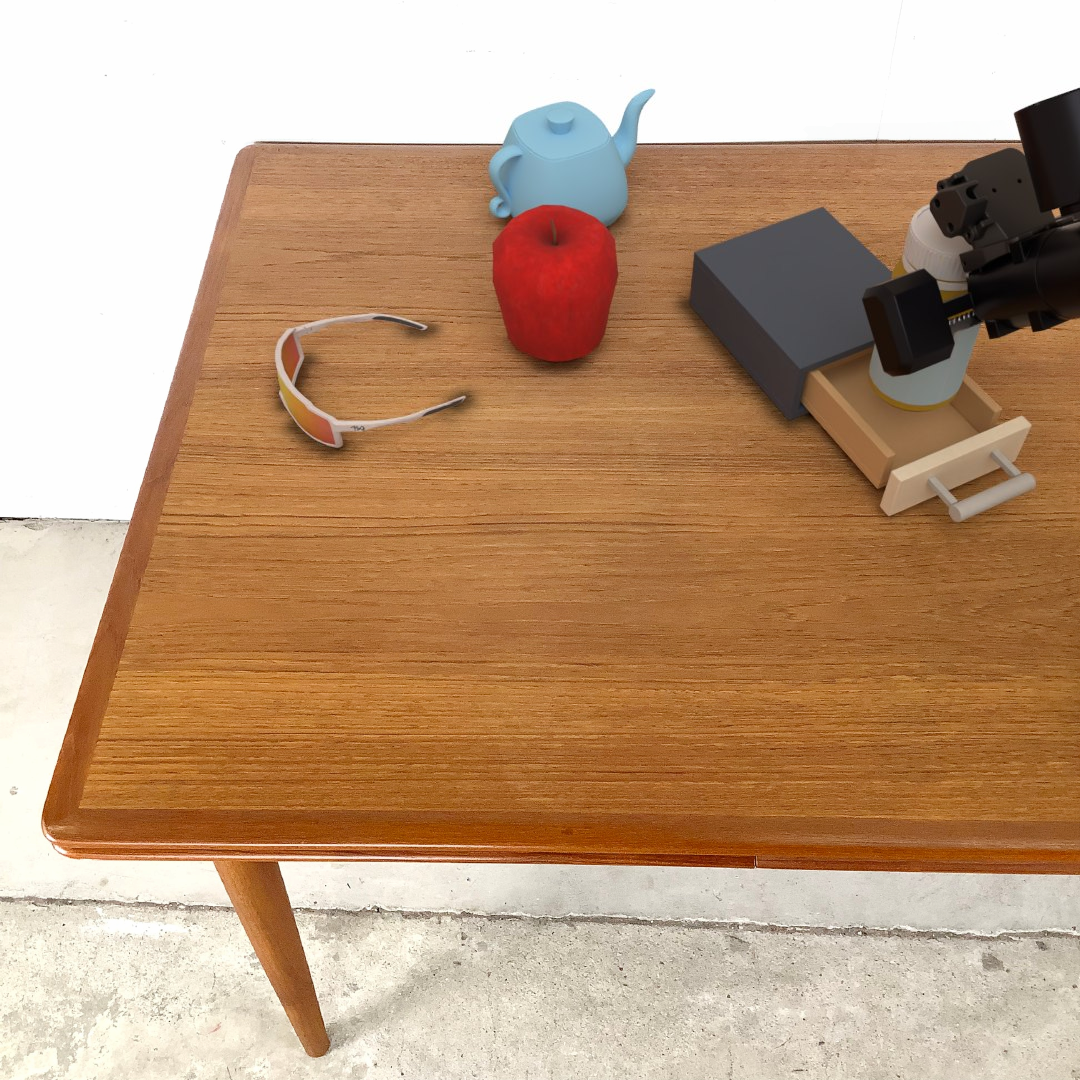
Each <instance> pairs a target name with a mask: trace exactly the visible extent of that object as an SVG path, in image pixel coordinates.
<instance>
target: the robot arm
mask: <svg viewBox="0 0 1080 1080" xmlns="http://www.w3.org/2000/svg"><path fill="white" fill-rule="evenodd" d="M1013 117H1014V120H1015V124H1016V128H1017V131H1018V136H1019V139H1020V143H1021V146H1022V150H1023V152H1022V151H1021V150H1019V149H1018V148H1015V147H1007V148H1004V149H1001V150H998V151H995V152H992V153H989V154H986V155H984V156H980V157H978V158H975V159H973V160H970V161H968V162H967V163H966V164H965V165H964V166H963V167H962V168H961V169H960V170H959V171H956V172H953V173H952V174H951V175H950V176H948V177H945V178H943V179H940V180H938V181H937V182H936V191H937V192H936V193H935V194H934V195H933V196H932V198H931V199H930V200H929V204H930V212H931V214H932V215H933V217H934V219H935V221H936V223H937V224H938V226H939V228H940V230H941V231H942V233H943V235H944V236H945V237H947V238H954V237H956V236H961V237H963V238H964V239H965V241H966V242H967V243H968V244H969V245H971V246H972V247H973V249H972V250H969V251H966V252H964V253H961V254H959V257H960V260H961V264H962V267H963V271H964V272H965V273H966V275H965V278H966V282H967V290H968V292H967V293H964V294H962V295H959V296H956V297H954V298H951V299H949V300H946V301H944V302H943V300H942V297H941V293H940V290H939V286H938V283H937V279H935V278H934V277H933V276H932V275H931V274H930V273H929V272H928V271H927V270H925V269H924V268H923V269H919V270H916V271H913V272H910V273H907V274H904V275H901V276H898V277H895V278H892V279H890V280H887V281H884V282H882V283H879V284H877V285H874V286H871V287H869V288H866V290H865V293H864V295H863V297H862V302H863V305H864V308H865V312H866V315H867V318H868V322H869V325H870V328H871V331H872V335H873V338H874V341H875V345H876V348H877V351H878V355H879V358H880V361H881V365H882V368H883V371H884V372H885V373H887V374H889V375H890V376H892V377H896V376H904V375H910V374H912V373H915V372H917V371H920V370H922V369H925V368H927V367H930V366H932V365H934V364H937V363H939V362H942V361H944V360H947V359H949V358H950V357H951V354H952V351H953V348H954V345H955V342H954V339H955V335H956V334H957V333H959V332H961V331H964V330H966V329H969V328H971V327H974V326H976V325H979V324H981V325H982V324H983V323H984V325H985V329H986V332H987V336H988V340H994V339H1000V338H1002V337H1005V336H1008V335H1010V334H1012V333H1014V332H1017V331H1019V330H1022V329H1024V328H1029V327H1030V329H1031V332H1032V333H1039V332H1044V331H1047V330H1049V329H1051V328H1054V327H1056V326H1059V325H1062V324H1063V323H1067V322H1069V321H1072V320H1077V319H1080V87H1078V88H1074V89H1071V90H1068V91H1065V92H1063V93H1060V94H1056V95H1054V96H1051V97H1048V98H1045V99H1042V100H1039V101H1037V102H1034V103H1032V104H1029V105H1027V106H1025V107H1022V108H1019V109H1018V110H1016V111H1014V112H1013ZM1057 209H1058V211H1059V213H1060V214H1059V215H1056V216H1055V214H1054V212H1053V211H1054V210H1057ZM970 309H973V311H970V312H968V313H966V315H965V314H962V315H961V316H957V317H956V318H952V319H951V320H948V318H949V317H952V316H954V315H957V314H959V313H962V312H964V311H967V310H970Z"/></svg>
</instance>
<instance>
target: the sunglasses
mask: <svg viewBox="0 0 1080 1080" xmlns="http://www.w3.org/2000/svg"><path fill="white" fill-rule="evenodd" d="M369 321H380V322H388V323H394V324H399V325H403V326H406V327H410V328H413V329H416V330H419V331H425V330H427V329H428V326H427V325H425V324H423V323H420V322H417V321H414V320H411V319H408V318H404V317H401V316H397V315H392V314H386V313H377V312H372V313H363V314H353V315H344V316H337V317H331V318H324V319H319V320H316V321H315V320H314V321H312V322H308V323H305V324H302V325H301V324H300V325H298V326H293V327H289V328H287V329H286V331H284V332H283V334H282V335H281V336H280V337H279V339H278V340H277V343H276V346H275V351H274V362H275V367H276V374H277V375H276V376H277V381H278V386H279V391H278V393H279V397H280V400H281V401H282V403H283V406H284V407H285V409H286V410H287V412H288V414H289V415H290V417H291V418H292V419H293V421H294V422H295V424H296V425H297V426H298V427H299V428H300V429H301V430H302V431H303V432H304V433H305V434H306V435H307V436H308V437H310V438H311V439H313V440H315V441H316V442H318V443H321V444H323V445H325V446H327V447H331V448H336V449H339V448H341V447H342V446H344V441H343V436H342V433H344V432H357V433H363V432H365V431H369V430H372V429H377V428H382V427H387V426H393V425H399V424H400V425H401V424H408V423H412V422H414V421H417V420H419V419H422V418H425V417H428V416H430V415H435V414H436V413H440V412H442V411H444V410H447V409H450V408H453V407H455V406H457V405H459V404H462V403H463V402H464V401H465V399H466V398H467V396H466V395H463V396H459V397H456V398H454V399H452V400H449V401H446V402H443V403H441V404H438V405H435V406H431V407H429V408H425V409H422V410H419V411H416V412H413V413H411V414H408V415H403V416H399V417H393V418H387V419H377V420H343V419H337V418H336V417H335V416H332V415H330V413H329V414H328V413H327V412H325V411H323V410H321V409H319V408H318V407H317V406H314V404H313V403H312V401H310V399H308V398H307V397H306V396H304V395H303V394H302V393H301V392H300V391H299V390H298V388H297V387H295V385H296V384H295V383H296V380H297V377H298V374H299V371H300V369H301V367H302V364H303V362H304V360H305V354H304V350H303V347H302V345H301V340H300V338H301V337H304V336H306V335H310V334H314V333H317V332H319V331H320V330H322V329H325V328H327V327H330V326H333V325H336V324H342V323H363V322H369Z"/></svg>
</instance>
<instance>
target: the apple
mask: <svg viewBox="0 0 1080 1080" xmlns="http://www.w3.org/2000/svg"><path fill="white" fill-rule="evenodd" d="M491 246H492V284H493V288H494V291H495V294H496V298H497V302H498V305H499V308H500V312H501V316H502V320H503V323H504V327H505V331H506V335H507V339H508V340H509V341H510V343H511V344H512V345H513V346H514V347H515V349H516V350H518V351H520V352H522V353H524V354H526V355H528V356H529V357H532V358H536V359H538V360H539V359H540V360H543V361H546V362H547V361H548V362H555V363H557V362H569V361H573V360H576V359H580V358H583V357H587V356H588V355H589V354H590V353H592V352H593V351H594V350H595V349H597V348H598V347H599V346H600V344H601V342H602V340H603V339H604V336H605V333H606V331H607V325H608V320H609V315H610V312H611V311H610V310H611V307H612V302H613V298H614V293H615V290H616V286H617V282H618V279H619V269H618V268H619V267H618V260H617V259H618V257H617V247H616V238H615V237H614V235H613V234H612V233H611V231H610V230H609V229H608V226H607V227H606V226H605V225H604V224H603V223H602V222H601V221H599V220H598V219H597V218H596V217H594V216H591V215H589V214H587V213H585V212H583V211H581V210H577V209H574V208H570V207H567V206H563V205H541V206H538V207H535V208H532V209H529V210H527V211H525V212H523V213H521V214H520V215H518V216H516V217H515V218H513V217H512V218H511V220H510V221H509V222H508V223H507V224H506V225H505V226H504V228H503V229H502V230H501V231H500V233H499V234H498V235H497V236H496V238H495V239H494V240H493V242H492V244H491Z"/></svg>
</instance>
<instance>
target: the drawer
mask: <svg viewBox="0 0 1080 1080" xmlns="http://www.w3.org/2000/svg"><path fill="white" fill-rule="evenodd" d="M873 349H874V346H873V347H871V348H868V349H866V350H863V351H860V352H858V353H855V354H853V355H850V356H848V357H845V358H843V359H840V360H838V361H835V362H832V363H830V364H827V365H825V366H822V367H820V368H817V369H815V370H812V371H809V372H807V373H806V377H805V382H804V386H803V391H802V396H801V400H800V402H801V403H802V404H803V405H804V406H805V407H806V408H807V410H808V411H809V412H810V415H811V416H813V418H814V419H815V420H816V421H817V422H818V424H820V426H821V427H823V429H824V430H825V431H826V432H827V434H828V435H829V436H830V437H831V439H833V441H834V442H835V443H836V444H837V445H838V446H839V448H841V449H842V450H843V452H844V453H845V454H846V455H847V456H848V458H850V460H851V462H853V464H855V466H856V467H857V468H858V469H859V470H860V471H861V472H862V473H863V474H864V476H865V477H866V478H867V479H868V480H869V481H870V483H872V485H873V486H874V487H875V488H876V489H877V490H878V489H882V488H883V487H885V489H884V492H883V495H882V498H881V501H880V503H879V508H881V510H882V511H883V512H884V513H885V514H886V515H887V516H888V517H891V516H894V515H895V514H898V513H900V512H902V511H904V510H907V509H909V508H912V507H914V506H917V505H918V504H921V503H923V502H926V501H927V500H930V499H932V498H934V497H936V496H938V497H939V499H941V500H942V501H943V503H944V504H945V505H946V506H947V508H948V514H949V517H950V518H951V520H952V521H953V522H955V523H961V522H963V521H966V520H968V519H969V518H972V517H974V516H976V515H978V514H981V513H983V512H986V511H988V510H990V509H992V508H994V507H997V506H999V505H1001V504H1004V503H1005V502H1008V501H1011V500H1012V499H1015V498H1017V497H1020V496H1021V495H1024V494H1026V493H1028V492H1030V491H1032V490H1034V489H1035V488H1036V486H1037V483H1036V482H1037V481H1036V479H1035V476H1033V475H1032V473H1030V472H1021V470H1019V469H1018V467H1016V465H1014V464H1013V463H1014V462H1016V460H1017V458H1018V456H1019V454H1020V452H1021V450H1022V447H1023V445H1024V443H1025V442H1026V440H1027V437H1028V435H1029V432H1030V430H1031V428H1032V426H1033V424H1032V423H1031V422H1030V421H1029V420H1028V419H1027V418H1026V417H1024V415H1020V416H1017V417H1014V418H1013V419H1010V420H1007V421H1006V422H1003V423H1000V424H998V425H997V423H998V420H999V419H1000V417H1001V413H1002V411H1003V408H1002V407H1001V405H999V404H998V403H997V402H996V401H995V400H994V399H993V398H992V397H991V396H990V395H989V394H988V393H987V392H986V391H985V390H984V389H983V388H982V387H981V386H980V385H978V384H977V382H975V380H973V378H972V377H971V376H970V375H968V374H967V372H965V375H964V378H963V381H962V384H961V386H960V388H959V391H958V393H957V395H956V397H955V398H954V399H953V400H952V401H951V402H949V403H948V404H947V405H945V406H942V407H940V408H937V409H934V410H931V411H924V412H911V411H904V410H901V409H898V408H895V407H893V406H891V405H890V404H888V403H886V402H885V401H883V400H882V399H881V398H880V397H879V396H878V395H877V394H876V392H875V391H874V390H873V389H872V387H871V384H870V382H869V378H868V376H869V368H870V362H871V358H872V353H873ZM998 469H1002V470H1003V471H1004V472H1005V473H1006V474H1007V475H1008V477H1009V479H1007V480H1005V481H1003V482H1000V483H997V484H996V485H994V486H991V487H989V488H987V489H984V490H982V491H980V492H978V493H975V494H973V495H971V496H969V497H967V498H964V499H962V500H958V499H957V498H956V497H955V496H954V495H953V494H952V493H951V492H950V490H953V489H954V488H957V487H959V486H961V485H964V484H966V483H969V482H971V481H973V480H976V479H977V478H980V477H982V476H984V475H987V474H989V473H992V472H993V471H996V470H998Z"/></svg>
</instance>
